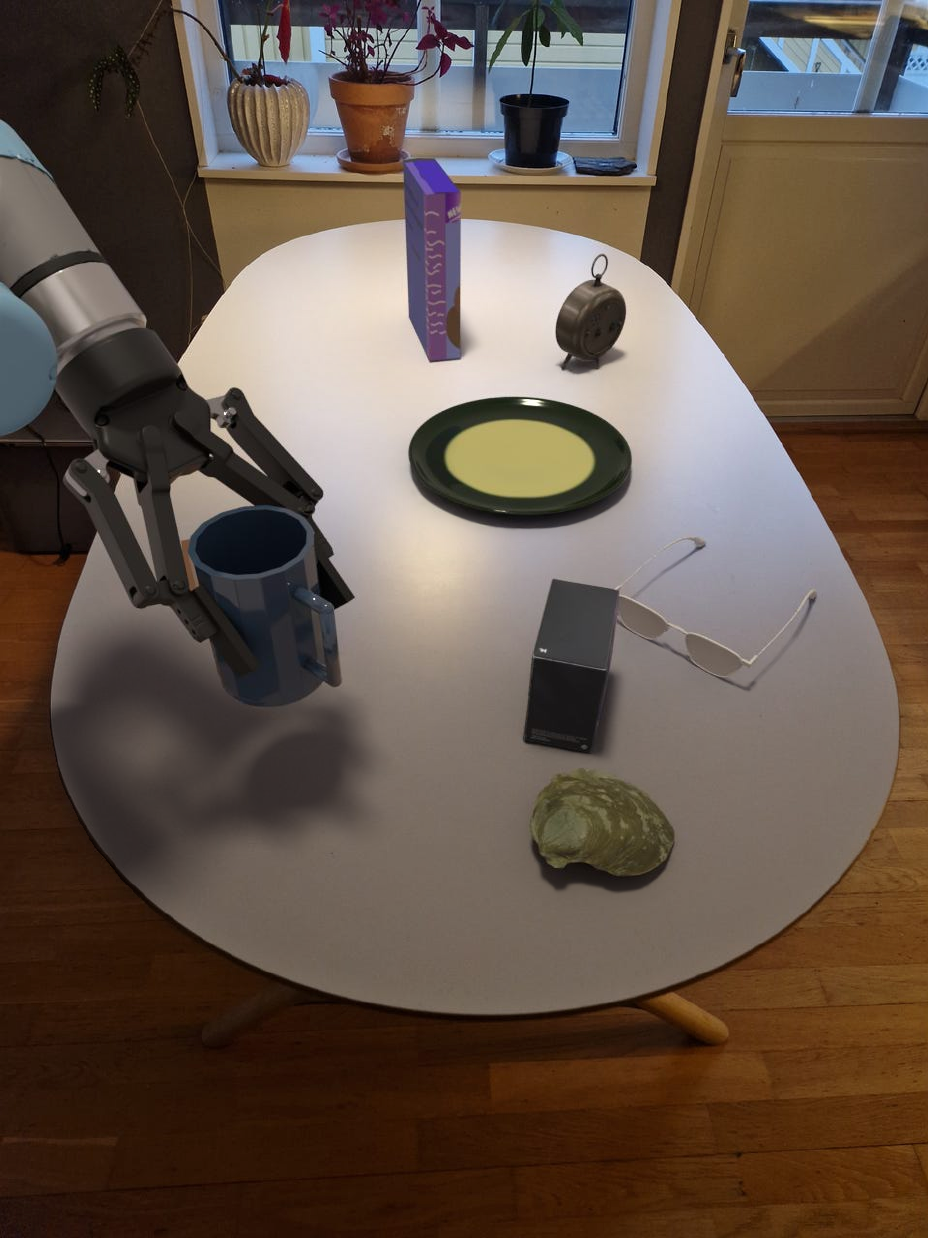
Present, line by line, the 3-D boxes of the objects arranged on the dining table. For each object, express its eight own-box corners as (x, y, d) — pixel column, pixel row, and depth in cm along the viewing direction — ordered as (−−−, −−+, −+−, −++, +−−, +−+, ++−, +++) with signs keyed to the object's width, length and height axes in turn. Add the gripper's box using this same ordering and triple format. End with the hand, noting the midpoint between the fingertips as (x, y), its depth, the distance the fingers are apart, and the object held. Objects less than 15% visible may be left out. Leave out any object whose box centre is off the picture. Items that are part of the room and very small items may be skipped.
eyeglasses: (604, 618, 88) (609, 588, 85) (695, 539, 98) (701, 510, 95) (741, 692, 80) (751, 661, 78) (824, 598, 90) (835, 568, 88)
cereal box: (460, 359, 132) (460, 190, 116) (429, 362, 131) (426, 192, 115) (436, 314, 145) (434, 156, 128) (408, 316, 144) (402, 158, 128)
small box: (595, 756, 74) (609, 671, 67) (521, 742, 76) (527, 657, 69) (608, 671, 82) (623, 587, 75) (541, 660, 83) (549, 575, 76)
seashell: (698, 819, 68) (645, 806, 60) (659, 904, 68) (601, 902, 60) (595, 763, 74) (535, 745, 66) (559, 841, 74) (495, 831, 66)
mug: (197, 672, 65) (162, 545, 57) (278, 617, 70) (257, 491, 62) (301, 746, 60) (279, 617, 52) (382, 680, 64) (373, 553, 56)
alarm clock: (601, 348, 135) (613, 240, 124) (626, 360, 132) (641, 251, 121) (550, 367, 130) (558, 257, 119) (575, 380, 127) (586, 268, 116)
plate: (659, 441, 114) (662, 424, 112) (581, 556, 95) (583, 538, 94) (470, 394, 123) (470, 378, 122) (367, 490, 105) (365, 472, 103)
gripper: (209, 331, 66) (374, 577, 70) (-59, 439, 54) (158, 732, 57) (245, 279, 60) (423, 550, 64) (-48, 386, 48) (193, 717, 51)
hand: (298, 636), depth 60 cm, fingers closed on mug, 8 cm apart
